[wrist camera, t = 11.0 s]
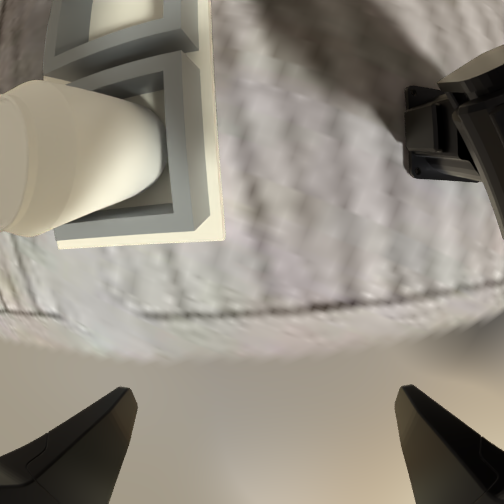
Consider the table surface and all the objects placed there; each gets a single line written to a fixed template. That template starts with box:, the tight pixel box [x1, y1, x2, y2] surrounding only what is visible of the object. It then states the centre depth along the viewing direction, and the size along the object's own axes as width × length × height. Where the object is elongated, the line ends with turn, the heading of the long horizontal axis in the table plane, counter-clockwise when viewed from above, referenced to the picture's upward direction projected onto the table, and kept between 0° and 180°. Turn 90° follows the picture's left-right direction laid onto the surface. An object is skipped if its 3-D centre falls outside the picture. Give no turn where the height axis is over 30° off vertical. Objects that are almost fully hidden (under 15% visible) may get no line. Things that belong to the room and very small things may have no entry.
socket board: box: [43, 0, 226, 249], centre depth 15 cm, size 14×24×5 cm, turn 4°
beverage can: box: [0, 80, 168, 237], centre depth 12 cm, size 6×6×12 cm
